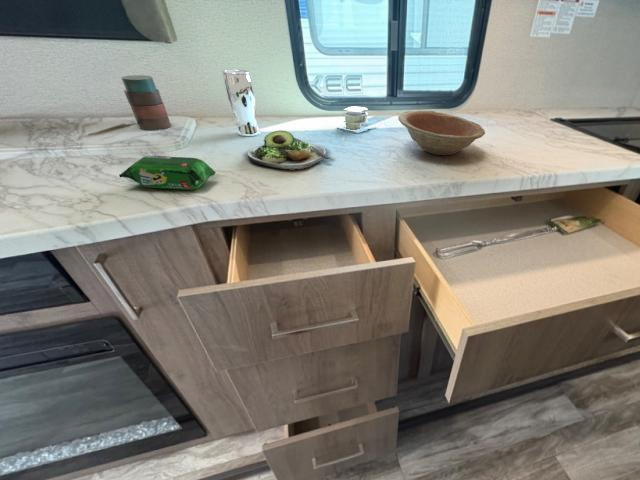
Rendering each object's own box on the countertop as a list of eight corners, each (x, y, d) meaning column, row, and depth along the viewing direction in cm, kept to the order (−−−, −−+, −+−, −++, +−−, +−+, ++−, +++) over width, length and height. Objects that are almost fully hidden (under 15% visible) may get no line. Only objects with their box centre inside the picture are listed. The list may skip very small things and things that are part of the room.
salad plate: (346, 155, 87) (345, 136, 84) (306, 178, 74) (303, 157, 71) (285, 142, 92) (282, 124, 89) (238, 162, 79) (233, 141, 76)
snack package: (144, 176, 70) (132, 151, 67) (220, 179, 71) (212, 154, 68) (124, 191, 65) (109, 164, 61) (206, 194, 66) (197, 167, 62)
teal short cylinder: (120, 91, 88) (114, 78, 86) (140, 87, 94) (135, 74, 92) (143, 94, 88) (138, 80, 86) (162, 89, 93) (158, 76, 91)
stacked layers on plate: (358, 134, 102) (358, 114, 99) (335, 128, 105) (334, 108, 102) (376, 127, 109) (376, 108, 105) (354, 122, 112) (353, 104, 109)
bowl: (458, 172, 82) (464, 138, 77) (380, 151, 91) (380, 118, 86) (492, 150, 98) (499, 120, 93) (422, 133, 107) (425, 105, 102)
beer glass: (231, 134, 95) (214, 71, 85) (246, 128, 100) (233, 68, 90) (251, 138, 93) (237, 74, 84) (266, 132, 99) (255, 71, 89)
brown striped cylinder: (131, 128, 94) (115, 91, 88) (153, 121, 100) (139, 86, 94) (158, 131, 93) (143, 94, 87) (178, 124, 99) (166, 89, 93)
